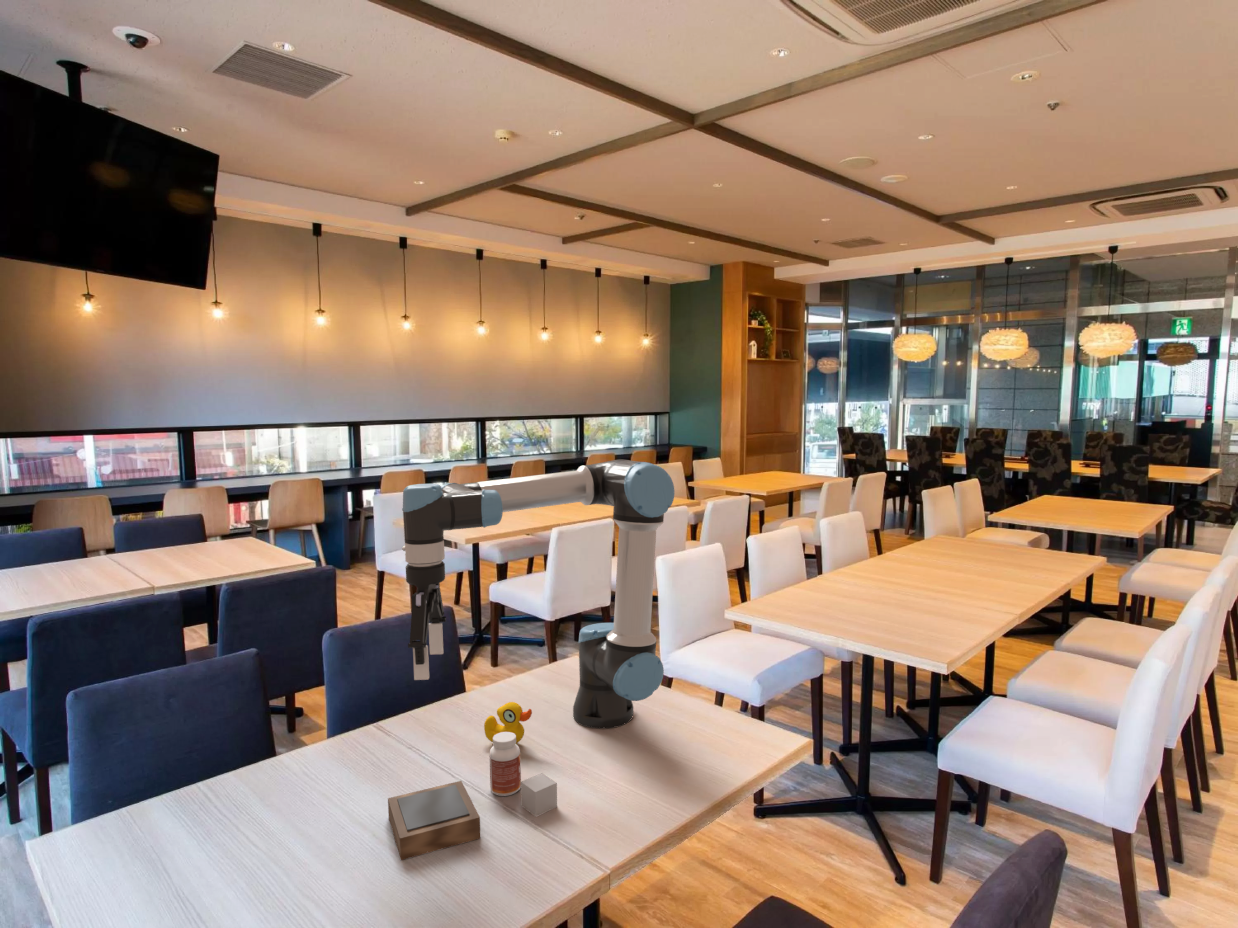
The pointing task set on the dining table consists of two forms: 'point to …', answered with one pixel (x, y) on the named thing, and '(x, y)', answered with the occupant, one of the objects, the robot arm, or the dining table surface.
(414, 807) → the podium
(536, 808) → the stone block
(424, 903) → the dining table surface
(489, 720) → the duckling
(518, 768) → the pill bottle
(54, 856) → the dining table surface
